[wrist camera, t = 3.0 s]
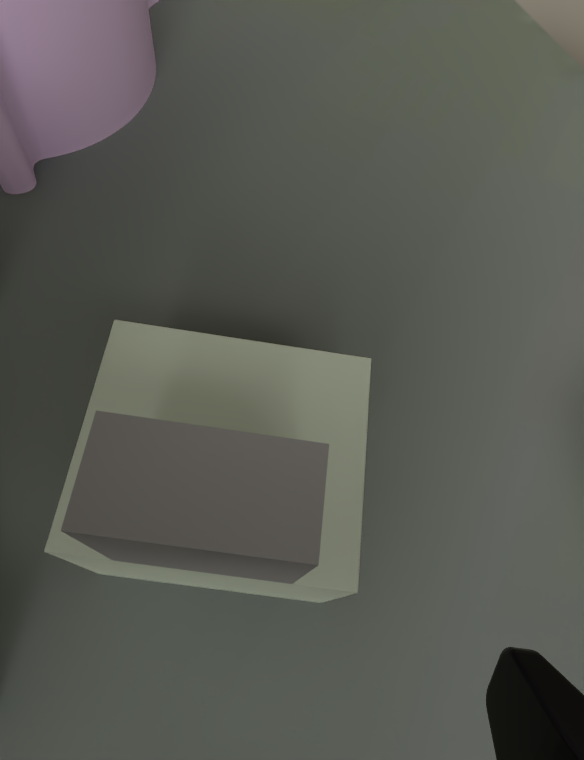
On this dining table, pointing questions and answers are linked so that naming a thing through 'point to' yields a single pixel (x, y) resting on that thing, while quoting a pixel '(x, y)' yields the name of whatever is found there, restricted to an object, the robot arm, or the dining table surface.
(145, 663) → the dining table surface
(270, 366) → the sage cabinet
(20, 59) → the clip
